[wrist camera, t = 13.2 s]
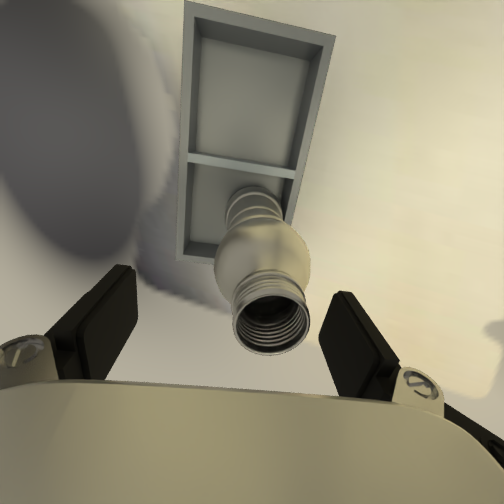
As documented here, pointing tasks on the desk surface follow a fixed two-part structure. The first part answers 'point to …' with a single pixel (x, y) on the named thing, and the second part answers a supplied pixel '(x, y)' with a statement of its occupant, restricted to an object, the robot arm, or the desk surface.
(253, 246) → the plastic bottle
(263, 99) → the grey divided tray
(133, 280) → the robot arm
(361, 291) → the desk surface
